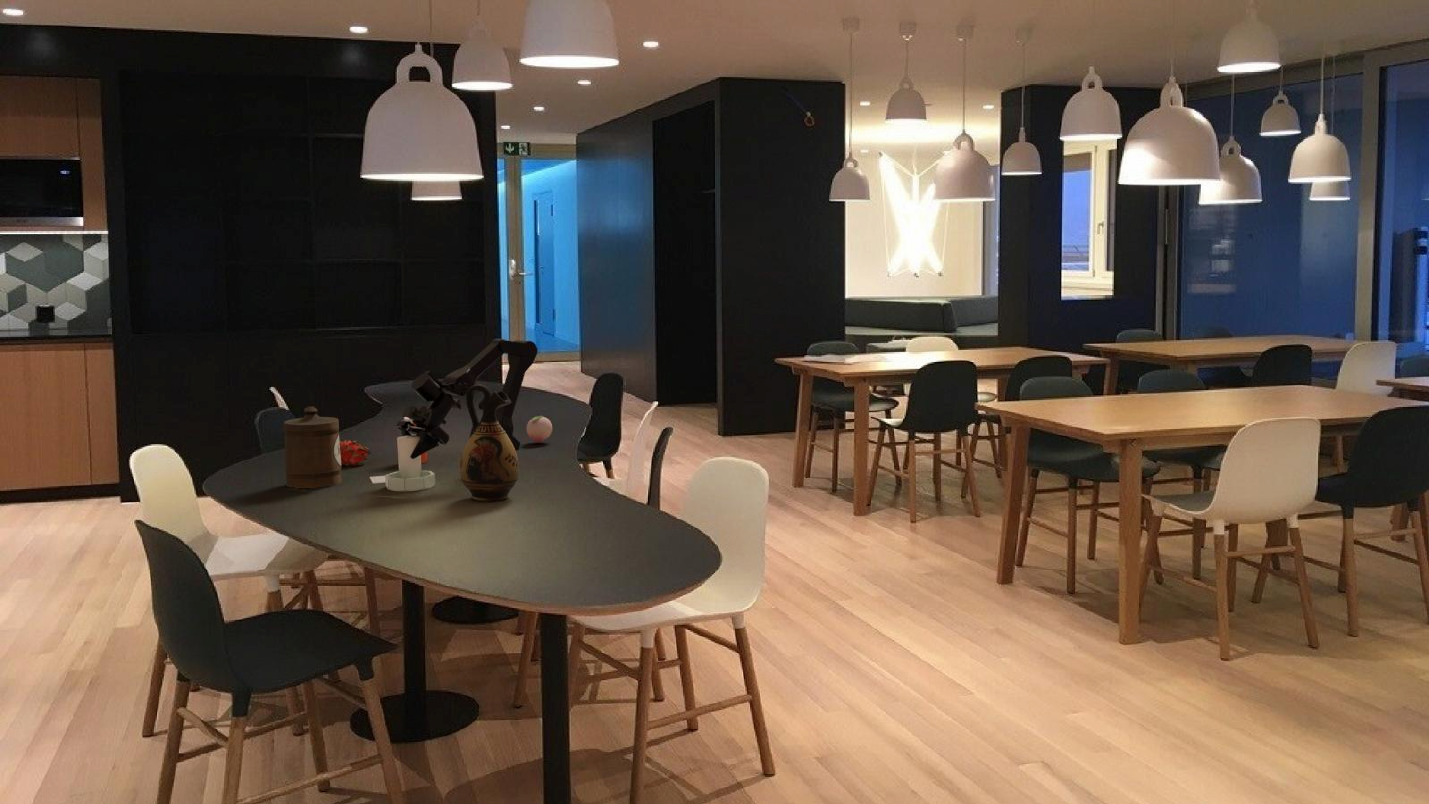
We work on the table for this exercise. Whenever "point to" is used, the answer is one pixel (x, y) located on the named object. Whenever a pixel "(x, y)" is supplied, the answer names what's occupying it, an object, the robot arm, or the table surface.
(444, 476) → the table surface
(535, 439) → the decorative fruit
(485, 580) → the table surface
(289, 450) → the wooden container
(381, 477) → the mat
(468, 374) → the robot arm
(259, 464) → the table surface
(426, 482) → the bowl
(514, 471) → the ceramic jug
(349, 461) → the dragon fruit
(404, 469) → the white cylinder
